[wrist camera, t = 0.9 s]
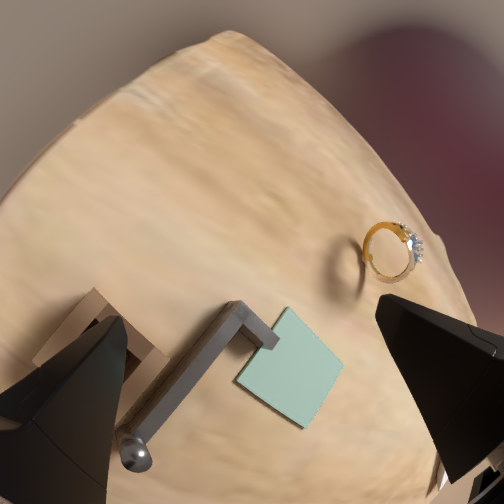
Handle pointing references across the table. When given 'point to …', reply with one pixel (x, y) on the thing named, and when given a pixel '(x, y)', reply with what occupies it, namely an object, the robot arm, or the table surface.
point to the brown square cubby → (143, 352)
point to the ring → (410, 242)
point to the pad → (292, 370)
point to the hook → (188, 380)
